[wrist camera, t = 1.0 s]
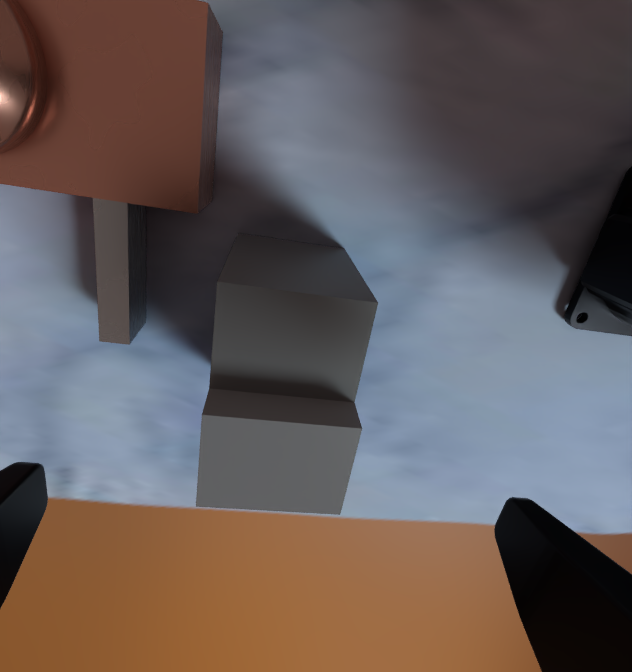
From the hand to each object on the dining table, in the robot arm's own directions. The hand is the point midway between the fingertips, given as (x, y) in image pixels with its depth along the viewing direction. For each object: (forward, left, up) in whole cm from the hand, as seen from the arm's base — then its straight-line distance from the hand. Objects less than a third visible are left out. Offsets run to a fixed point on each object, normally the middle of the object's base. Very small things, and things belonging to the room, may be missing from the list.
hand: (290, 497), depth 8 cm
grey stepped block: (0, 0, -10) cm, 10 cm away
